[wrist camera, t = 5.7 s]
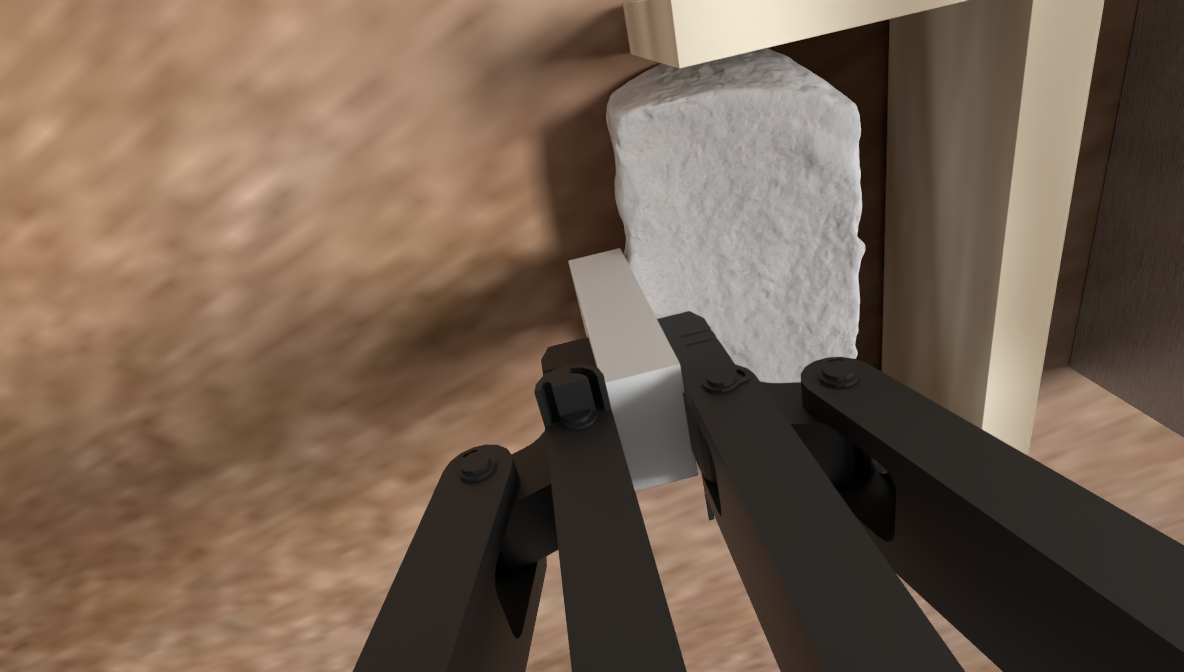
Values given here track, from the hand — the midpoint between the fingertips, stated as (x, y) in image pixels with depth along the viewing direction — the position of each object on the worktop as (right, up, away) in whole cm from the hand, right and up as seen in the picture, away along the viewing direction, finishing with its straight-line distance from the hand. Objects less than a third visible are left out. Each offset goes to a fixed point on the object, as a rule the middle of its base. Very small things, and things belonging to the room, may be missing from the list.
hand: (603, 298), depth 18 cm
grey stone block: (+3, +3, +2) cm, 5 cm away
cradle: (+5, +2, +2) cm, 6 cm away
